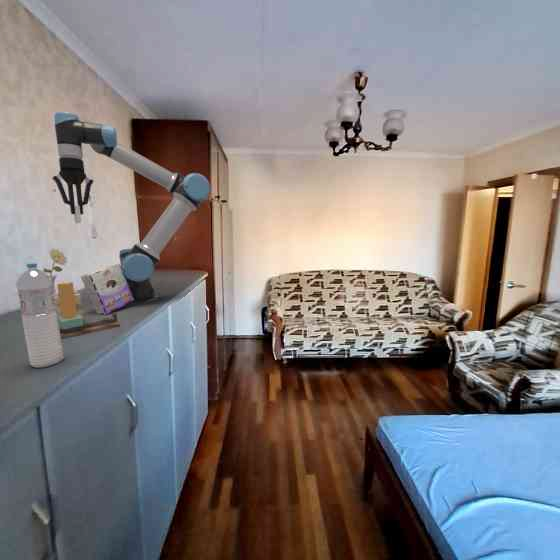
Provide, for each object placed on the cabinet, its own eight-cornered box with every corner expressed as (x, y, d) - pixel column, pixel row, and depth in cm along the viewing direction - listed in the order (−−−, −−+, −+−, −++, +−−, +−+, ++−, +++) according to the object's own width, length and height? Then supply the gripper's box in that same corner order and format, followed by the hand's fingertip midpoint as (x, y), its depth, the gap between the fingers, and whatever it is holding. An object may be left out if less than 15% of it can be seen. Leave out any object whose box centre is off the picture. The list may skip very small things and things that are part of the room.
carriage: (79, 320, 101) (73, 280, 98) (83, 325, 95) (77, 283, 93) (59, 324, 97) (53, 282, 95) (62, 329, 92) (55, 285, 89)
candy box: (125, 301, 130) (111, 265, 126) (135, 300, 128) (120, 263, 124) (96, 315, 119) (79, 275, 114) (106, 314, 116) (88, 274, 112)
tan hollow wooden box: (80, 317, 114) (76, 291, 112) (84, 321, 108) (80, 294, 106) (53, 321, 109) (49, 294, 107) (56, 327, 103) (52, 298, 101)
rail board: (114, 321, 108) (113, 310, 107) (119, 326, 103) (118, 315, 102) (51, 334, 96) (49, 322, 95) (54, 340, 91) (52, 327, 90)
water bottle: (58, 366, 74) (42, 264, 69) (24, 370, 72) (5, 266, 67) (68, 355, 80) (54, 261, 76) (38, 358, 78) (21, 262, 74)
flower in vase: (49, 313, 119) (39, 250, 114) (30, 311, 123) (19, 249, 118) (81, 305, 131) (73, 247, 126) (62, 303, 135) (54, 247, 130)
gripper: (88, 162, 120) (95, 223, 124) (47, 157, 111) (55, 223, 115) (93, 159, 114) (100, 223, 118) (51, 154, 106) (59, 223, 110)
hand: (78, 223), depth 117 cm, fingers closed
